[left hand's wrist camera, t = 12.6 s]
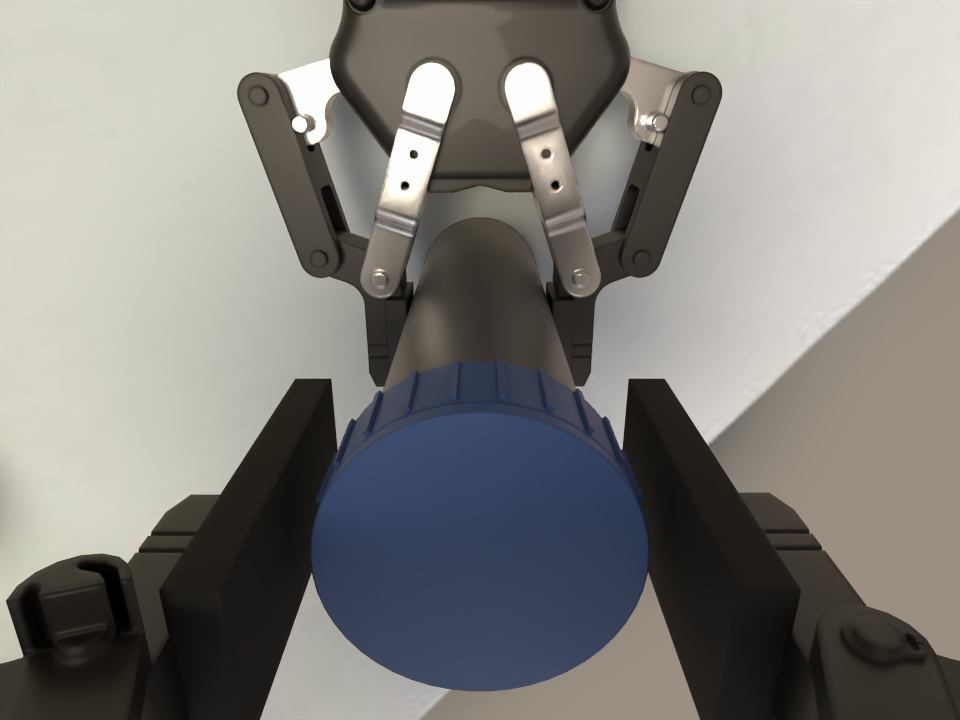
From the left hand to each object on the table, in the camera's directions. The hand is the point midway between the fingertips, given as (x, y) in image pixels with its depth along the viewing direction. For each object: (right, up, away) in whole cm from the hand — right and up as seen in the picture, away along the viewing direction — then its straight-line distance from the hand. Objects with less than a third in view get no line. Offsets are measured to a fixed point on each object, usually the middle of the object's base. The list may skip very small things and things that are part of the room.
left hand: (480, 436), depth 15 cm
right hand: (0, +1, +9) cm, 9 cm away
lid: (0, -1, -4) cm, 4 cm away
